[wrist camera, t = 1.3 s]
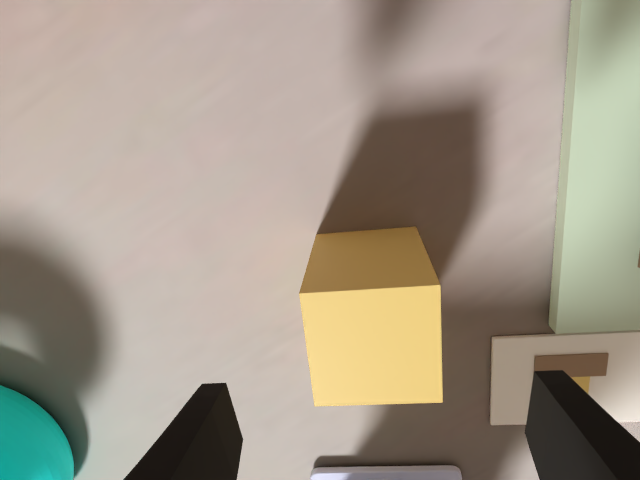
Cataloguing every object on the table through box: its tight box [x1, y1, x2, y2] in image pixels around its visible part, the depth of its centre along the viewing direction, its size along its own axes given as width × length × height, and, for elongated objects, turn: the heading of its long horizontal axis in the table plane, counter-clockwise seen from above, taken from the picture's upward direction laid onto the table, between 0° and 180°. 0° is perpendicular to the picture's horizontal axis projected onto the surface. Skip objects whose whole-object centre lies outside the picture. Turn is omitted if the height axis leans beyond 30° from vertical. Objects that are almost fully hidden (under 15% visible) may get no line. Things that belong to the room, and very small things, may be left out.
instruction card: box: [490, 330, 640, 425], centre depth 20 cm, size 5×7×1 cm
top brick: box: [299, 227, 443, 406], centre depth 17 cm, size 4×4×6 cm
